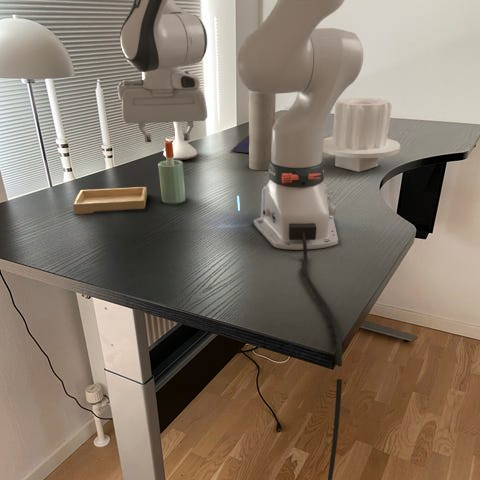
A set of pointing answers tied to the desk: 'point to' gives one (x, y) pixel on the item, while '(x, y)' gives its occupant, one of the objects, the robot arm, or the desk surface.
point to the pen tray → (110, 199)
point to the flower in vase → (181, 145)
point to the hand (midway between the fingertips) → (167, 141)
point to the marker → (169, 153)
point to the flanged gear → (360, 133)
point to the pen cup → (172, 182)
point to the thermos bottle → (260, 129)
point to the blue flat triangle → (242, 146)
